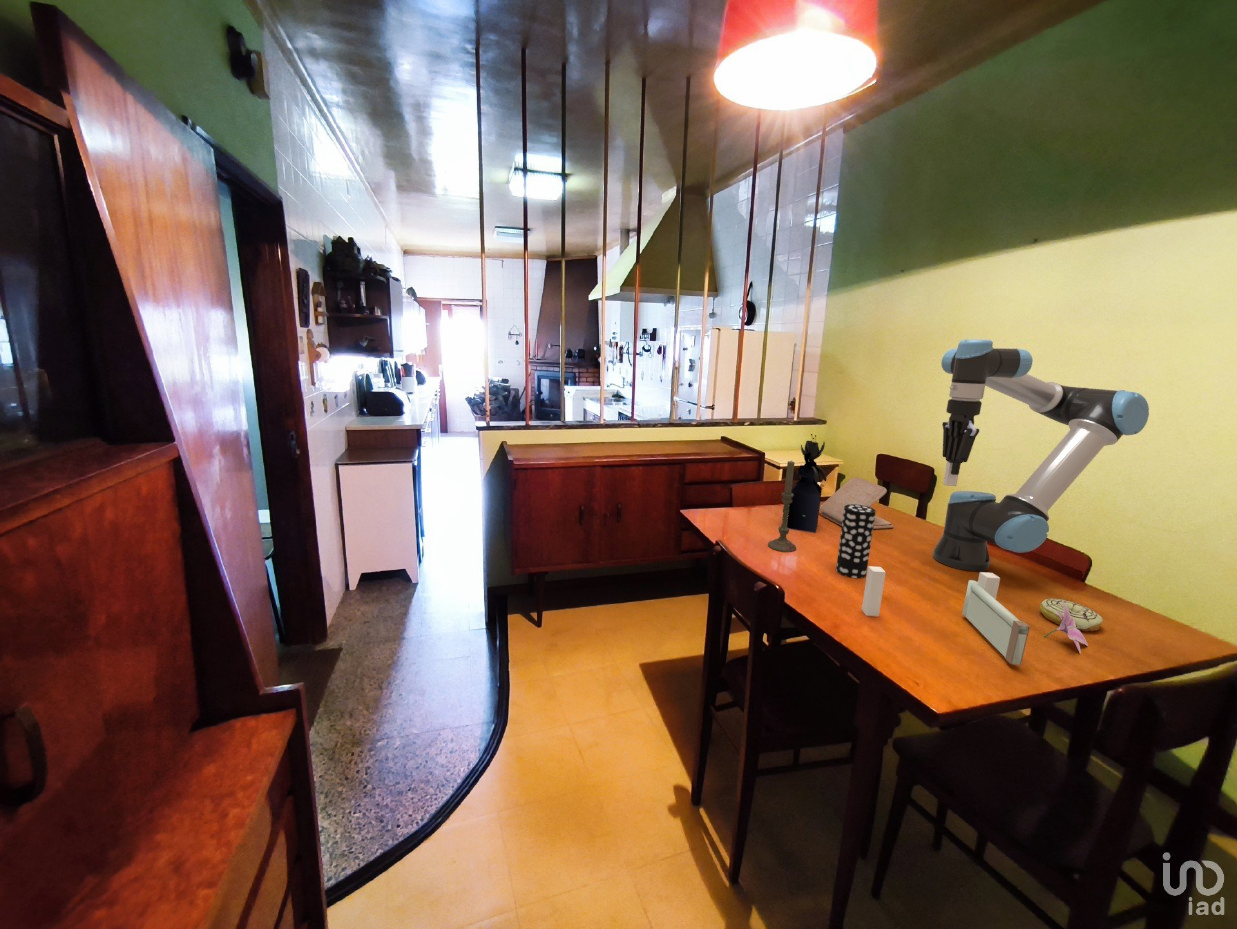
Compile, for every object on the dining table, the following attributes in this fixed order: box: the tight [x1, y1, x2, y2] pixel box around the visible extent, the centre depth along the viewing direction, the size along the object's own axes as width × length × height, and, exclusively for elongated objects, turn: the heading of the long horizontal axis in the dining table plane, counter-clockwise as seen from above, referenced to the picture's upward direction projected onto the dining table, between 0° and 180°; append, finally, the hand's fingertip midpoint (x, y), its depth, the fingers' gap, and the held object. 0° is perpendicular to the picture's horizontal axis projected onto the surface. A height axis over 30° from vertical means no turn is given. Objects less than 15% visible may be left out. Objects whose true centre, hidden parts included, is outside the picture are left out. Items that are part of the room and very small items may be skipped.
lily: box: [1043, 599, 1089, 655], centre depth 118 cm, size 11×11×9 cm
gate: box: [961, 579, 1031, 666], centre depth 118 cm, size 22×2×9 cm, turn 171°
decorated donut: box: [1039, 598, 1104, 633], centre depth 129 cm, size 11×12×4 cm
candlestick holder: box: [767, 460, 797, 553], centre depth 169 cm, size 9×9×30 cm
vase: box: [787, 433, 827, 534], centre depth 188 cm, size 14×12×35 cm
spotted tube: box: [835, 504, 877, 579], centre depth 152 cm, size 8×8×20 cm
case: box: [819, 476, 895, 530], centre depth 200 cm, size 20×21×16 cm
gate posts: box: [861, 565, 1001, 617], centre depth 128 cm, size 30×3×12 cm, turn 86°
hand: (949, 485), depth 141 cm, fingers closed
